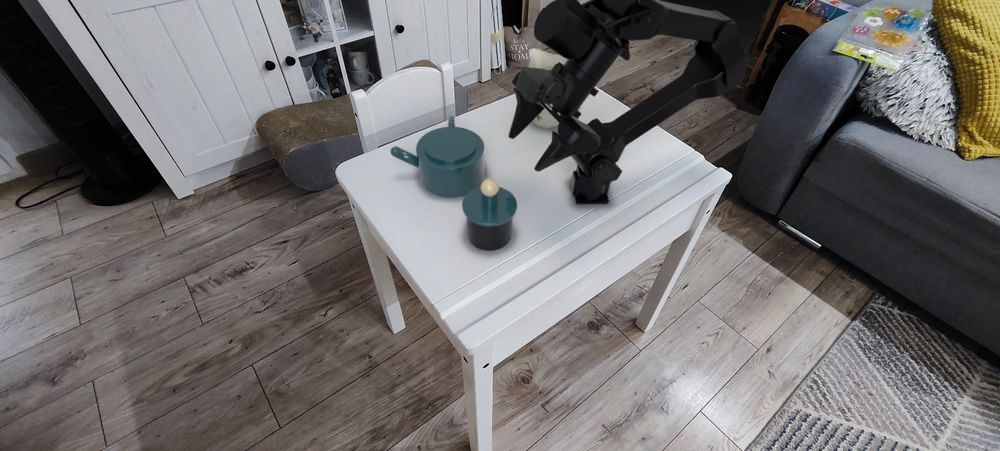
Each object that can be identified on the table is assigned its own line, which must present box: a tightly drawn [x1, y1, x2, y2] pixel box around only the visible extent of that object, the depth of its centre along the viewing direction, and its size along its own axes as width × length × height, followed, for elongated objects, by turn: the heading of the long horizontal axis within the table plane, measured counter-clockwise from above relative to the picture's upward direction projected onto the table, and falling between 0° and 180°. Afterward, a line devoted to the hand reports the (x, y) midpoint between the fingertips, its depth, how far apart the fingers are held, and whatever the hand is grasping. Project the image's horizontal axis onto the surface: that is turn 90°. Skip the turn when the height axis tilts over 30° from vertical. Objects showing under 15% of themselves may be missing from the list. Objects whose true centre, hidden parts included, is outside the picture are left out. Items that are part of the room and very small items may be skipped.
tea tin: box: [465, 216, 514, 252], centre depth 79 cm, size 8×8×7 cm
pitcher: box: [528, 47, 582, 129], centre depth 100 cm, size 11×18×14 cm, turn 32°
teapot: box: [389, 115, 485, 198], centre depth 91 cm, size 18×17×8 cm
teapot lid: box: [461, 177, 518, 226], centre depth 75 cm, size 9×9×6 cm
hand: (523, 153), depth 74 cm, fingers open, 9 cm apart
